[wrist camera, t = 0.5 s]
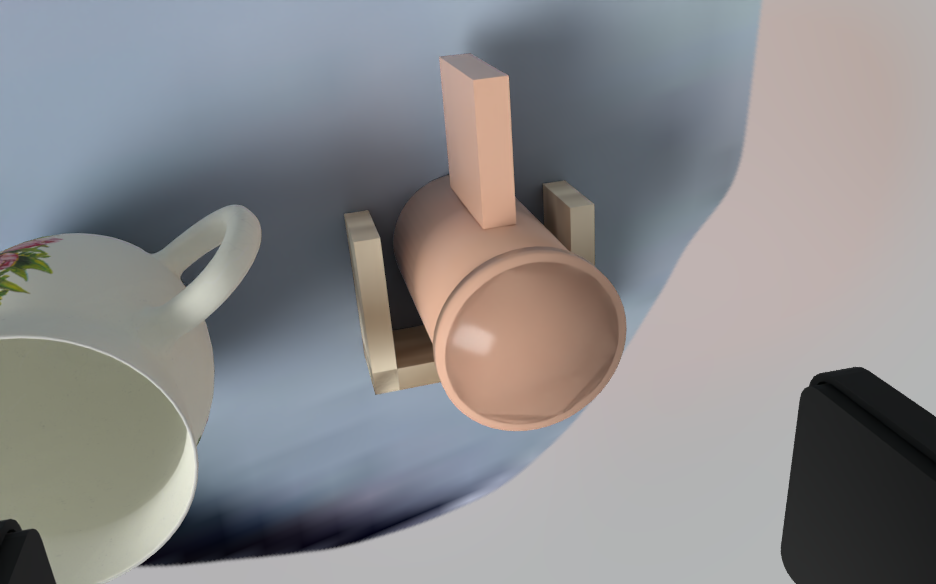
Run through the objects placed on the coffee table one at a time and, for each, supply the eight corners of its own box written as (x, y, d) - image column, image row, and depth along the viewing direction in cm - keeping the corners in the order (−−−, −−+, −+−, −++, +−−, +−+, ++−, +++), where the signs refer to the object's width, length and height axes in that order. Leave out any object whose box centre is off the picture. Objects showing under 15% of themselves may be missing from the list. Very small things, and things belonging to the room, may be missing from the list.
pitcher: (333, 249, 40) (371, 390, 28) (72, 477, 42) (2, 703, 30) (161, 79, 35) (117, 161, 23) (-129, 344, 37) (-313, 552, 25)
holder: (343, 213, 40) (353, 242, 36) (564, 180, 42) (594, 204, 38) (364, 356, 43) (375, 394, 40) (568, 318, 45) (595, 351, 42)
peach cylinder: (363, 58, 37) (411, 112, 26) (523, 39, 38) (629, 84, 28) (396, 317, 43) (445, 447, 32) (534, 293, 44) (625, 410, 34)
